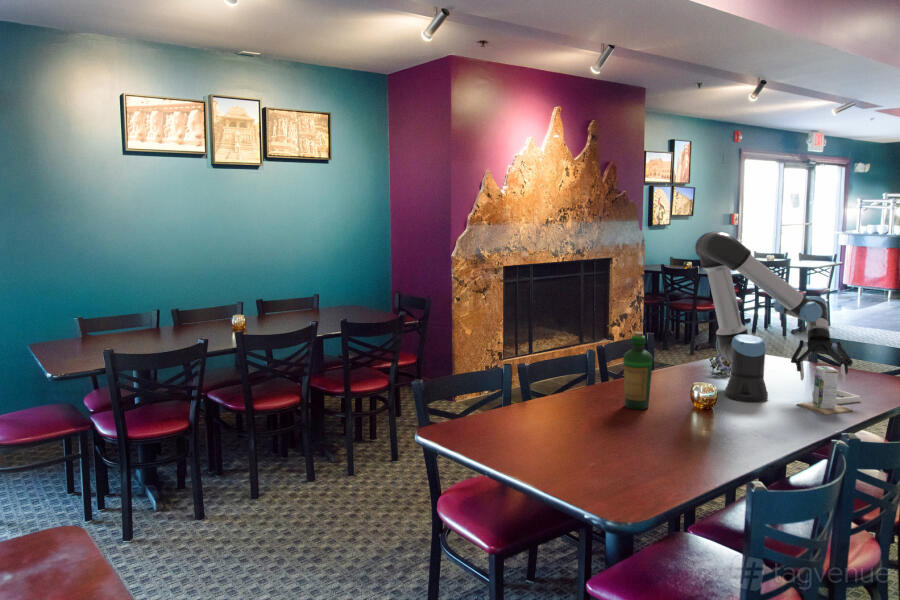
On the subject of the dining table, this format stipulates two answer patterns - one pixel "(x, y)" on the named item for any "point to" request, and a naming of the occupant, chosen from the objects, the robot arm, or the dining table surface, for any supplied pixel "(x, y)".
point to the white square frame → (846, 397)
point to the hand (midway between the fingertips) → (823, 379)
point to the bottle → (637, 374)
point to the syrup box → (825, 387)
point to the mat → (825, 411)
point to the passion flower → (721, 364)
